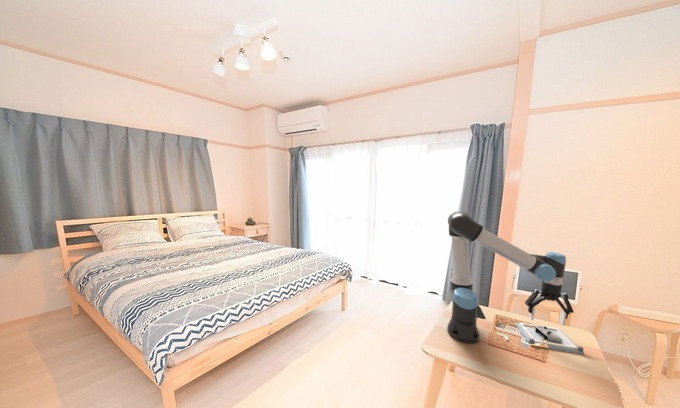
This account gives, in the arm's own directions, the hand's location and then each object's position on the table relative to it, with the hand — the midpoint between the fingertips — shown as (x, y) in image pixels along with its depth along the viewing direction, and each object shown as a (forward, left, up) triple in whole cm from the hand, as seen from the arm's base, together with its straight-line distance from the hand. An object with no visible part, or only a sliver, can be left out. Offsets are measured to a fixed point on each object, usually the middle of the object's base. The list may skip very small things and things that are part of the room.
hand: (546, 321), depth 122 cm
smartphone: (-27, +18, -10) cm, 34 cm away
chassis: (+1, 0, -9) cm, 9 cm away
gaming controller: (+1, -1, -8) cm, 8 cm away
